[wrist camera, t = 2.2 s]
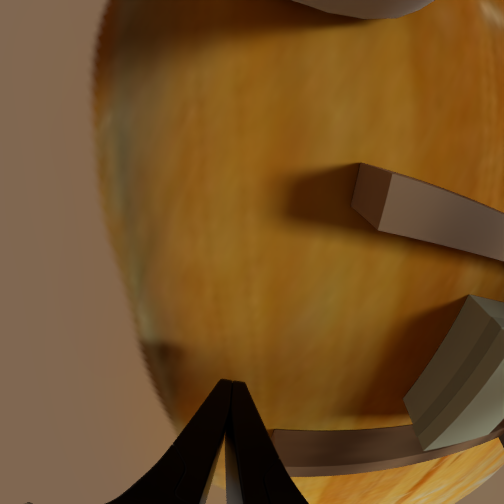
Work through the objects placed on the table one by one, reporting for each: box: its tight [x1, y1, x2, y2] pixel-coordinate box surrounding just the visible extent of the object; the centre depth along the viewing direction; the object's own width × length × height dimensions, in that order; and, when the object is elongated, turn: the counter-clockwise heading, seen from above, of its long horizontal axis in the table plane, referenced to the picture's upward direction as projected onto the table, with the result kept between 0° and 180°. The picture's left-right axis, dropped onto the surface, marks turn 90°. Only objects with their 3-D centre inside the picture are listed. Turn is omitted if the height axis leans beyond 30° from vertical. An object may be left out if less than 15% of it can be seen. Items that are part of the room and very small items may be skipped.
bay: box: [271, 163, 504, 477], centre depth 10 cm, size 22×16×4 cm
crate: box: [403, 294, 504, 451], centre depth 10 cm, size 6×7×4 cm
